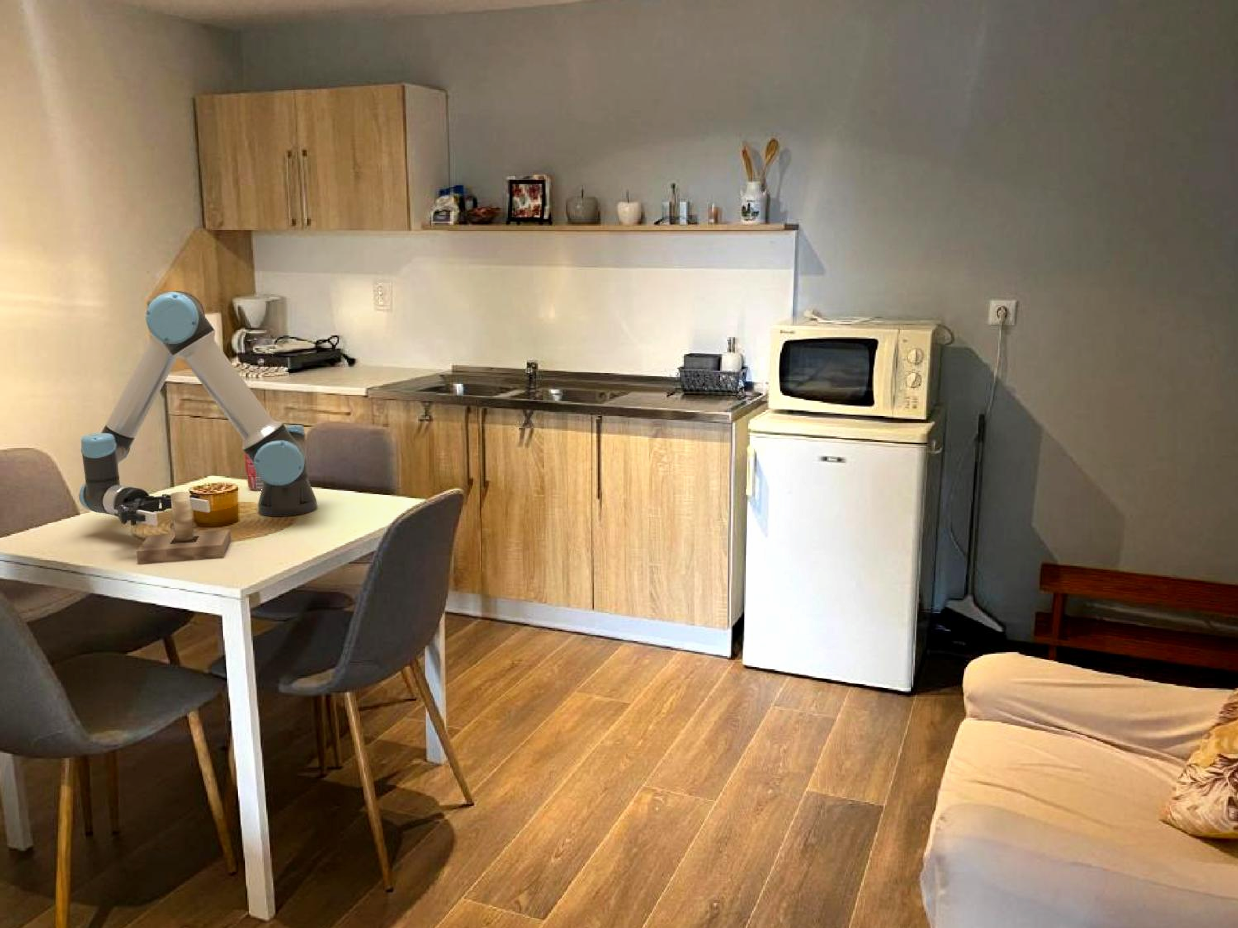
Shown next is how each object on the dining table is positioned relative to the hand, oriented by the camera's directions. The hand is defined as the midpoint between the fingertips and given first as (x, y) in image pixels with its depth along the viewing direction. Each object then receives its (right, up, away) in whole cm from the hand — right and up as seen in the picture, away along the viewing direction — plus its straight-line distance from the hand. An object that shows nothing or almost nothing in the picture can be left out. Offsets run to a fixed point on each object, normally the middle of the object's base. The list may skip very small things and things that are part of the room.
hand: (182, 512), depth 238 cm
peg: (0, -9, +2) cm, 10 cm away
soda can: (-5, +4, +68) cm, 68 cm away
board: (0, -9, +2) cm, 10 cm away
